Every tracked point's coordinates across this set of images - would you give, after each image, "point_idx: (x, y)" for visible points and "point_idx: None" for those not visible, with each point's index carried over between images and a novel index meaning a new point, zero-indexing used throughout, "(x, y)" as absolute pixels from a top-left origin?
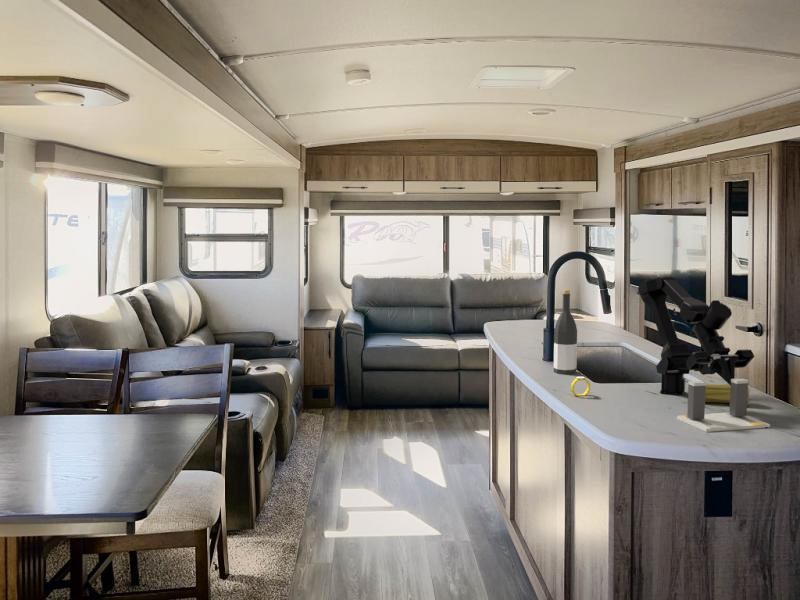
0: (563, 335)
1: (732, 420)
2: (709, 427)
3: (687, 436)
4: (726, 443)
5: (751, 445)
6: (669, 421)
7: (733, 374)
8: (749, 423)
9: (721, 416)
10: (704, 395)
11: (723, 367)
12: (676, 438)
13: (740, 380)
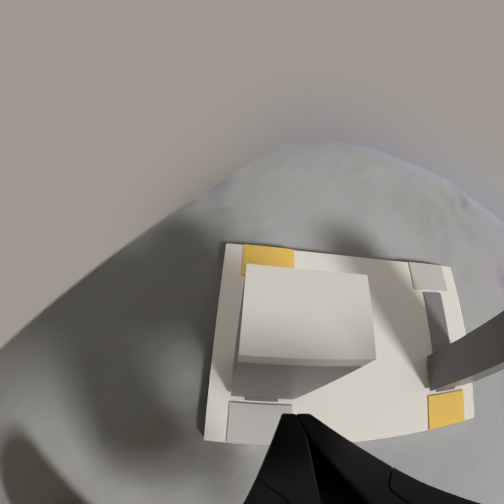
0: None
1: None
2: (441, 270)
3: (483, 256)
4: (425, 194)
5: (382, 168)
6: (492, 389)
7: (284, 454)
8: None
9: (338, 391)
10: (492, 319)
11: (442, 494)
12: (500, 252)
13: (326, 278)
